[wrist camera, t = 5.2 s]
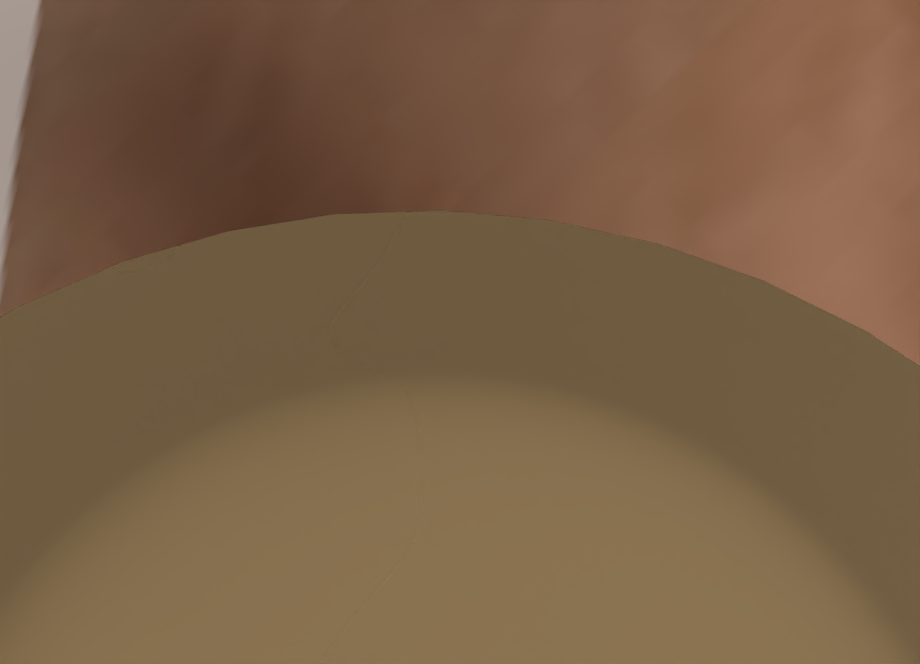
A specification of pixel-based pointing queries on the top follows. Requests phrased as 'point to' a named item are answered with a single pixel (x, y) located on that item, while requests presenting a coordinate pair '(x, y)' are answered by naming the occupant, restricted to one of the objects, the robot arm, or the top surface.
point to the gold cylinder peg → (451, 457)
